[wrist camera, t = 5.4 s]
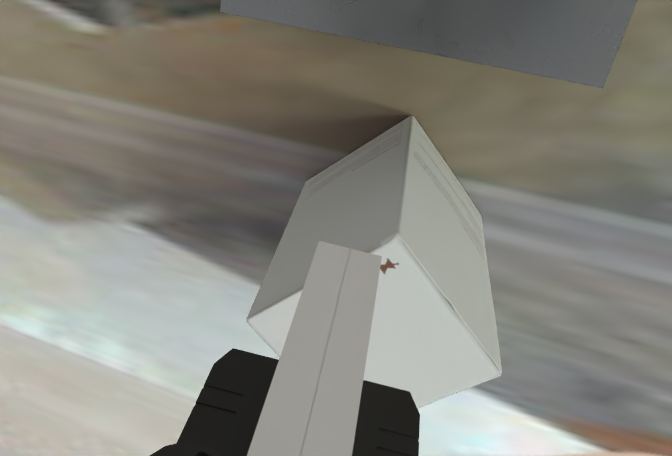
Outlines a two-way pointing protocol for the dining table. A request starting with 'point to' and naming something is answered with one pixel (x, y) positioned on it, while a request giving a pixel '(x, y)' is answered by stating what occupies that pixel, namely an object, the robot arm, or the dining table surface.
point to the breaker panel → (471, 29)
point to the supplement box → (396, 264)
